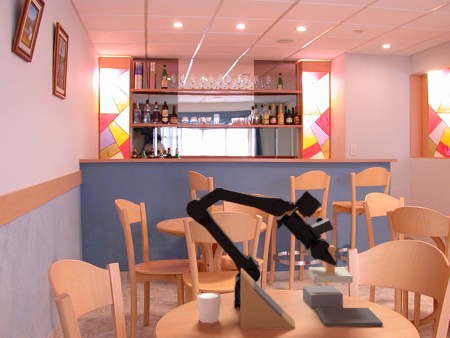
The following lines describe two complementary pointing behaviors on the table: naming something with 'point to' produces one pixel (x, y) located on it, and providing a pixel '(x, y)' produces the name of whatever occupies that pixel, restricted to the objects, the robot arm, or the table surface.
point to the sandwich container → (261, 308)
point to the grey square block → (322, 296)
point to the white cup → (208, 307)
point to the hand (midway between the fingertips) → (334, 263)
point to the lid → (330, 272)
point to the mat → (347, 317)
